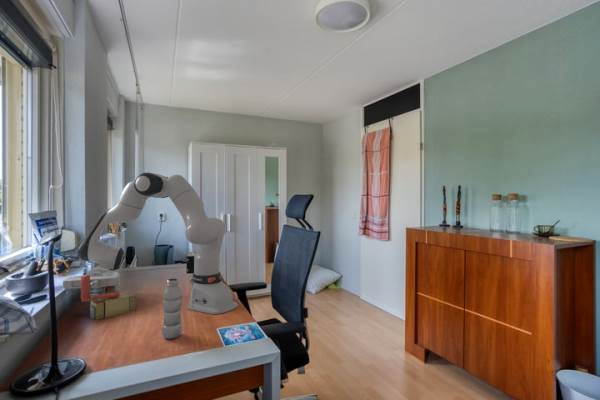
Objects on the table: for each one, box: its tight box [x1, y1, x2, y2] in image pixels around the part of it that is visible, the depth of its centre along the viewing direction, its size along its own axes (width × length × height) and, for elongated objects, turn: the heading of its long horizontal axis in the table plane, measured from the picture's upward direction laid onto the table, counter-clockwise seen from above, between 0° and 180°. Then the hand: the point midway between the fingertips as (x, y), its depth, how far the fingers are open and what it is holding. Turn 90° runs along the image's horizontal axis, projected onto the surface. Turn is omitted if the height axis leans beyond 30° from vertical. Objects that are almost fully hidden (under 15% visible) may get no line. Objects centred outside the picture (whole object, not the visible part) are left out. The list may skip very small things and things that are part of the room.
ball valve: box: [185, 250, 197, 284], centre depth 178 cm, size 18×8×18 cm, turn 15°
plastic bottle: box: [161, 277, 183, 340], centre depth 108 cm, size 6×7×20 cm
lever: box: [80, 274, 121, 303], centre depth 127 cm, size 14×4×10 cm, turn 134°
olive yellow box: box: [89, 291, 137, 320], centre depth 130 cm, size 16×8×7 cm, turn 141°
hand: (86, 286), depth 124 cm, fingers closed, pressing on lever
